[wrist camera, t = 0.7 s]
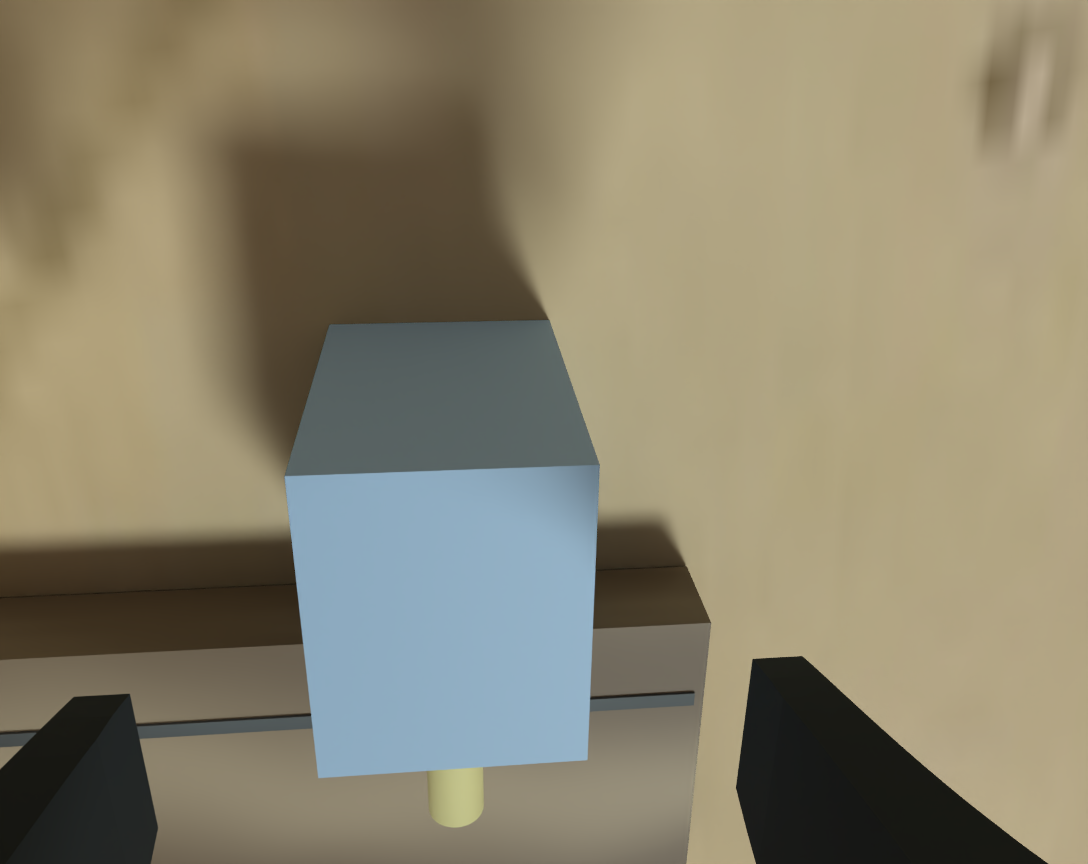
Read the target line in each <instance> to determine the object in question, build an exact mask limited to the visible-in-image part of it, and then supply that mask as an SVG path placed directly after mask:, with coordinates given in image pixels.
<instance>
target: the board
mask: <svg viewBox="0 0 1088 864" xmlns="http://www.w3.org/2000/svg"><path fill="white" fill-rule="evenodd" d="M710 628H711V622H710V619H709V617H708V615H707V612H706V610H705V608H704V605H703V603H702V601H701V598H700V596H699V594H698V592H697V589H696V587H695V585H694V582H693V580H692V578H691V575H690V573H689V571H688V568H687V566H685V567H664V568H642V569H621V570H599V571H595V590H594V614H593V638H592V662H591V686H590V711H589V735H588V759H587V760H582V761H567V762H552V763H537V764H522V765H507V766H492V767H483V789H484V808H483V811H482V813H481V815H480V816H479V818H478V819H477V820H475V821H474V822H473V823H471V824H469V825H466V826H463V827H455V828H453V827H446V826H443V825H441V824H439V823H437V822H436V821H435V820H434V819H433V818H432V817H431V815H430V812H429V801H428V781H427V771H418V772H403V773H388V774H373V775H358V776H343V777H328V778H318V771H317V762H316V753H315V744H314V735H313V726H312V717H311V708H310V700H309V691H308V682H307V673H306V664H305V655H304V646H303V637H302V628H301V619H300V610H299V601H298V592H297V584H296V585H275V586H253V587H231V588H210V589H188V590H166V591H145V592H123V593H102V594H80V595H58V596H37V597H15V598H0V769H1V768H2V767H3V766H4V765H5V764H6V763H7V762H8V761H9V760H10V759H11V758H12V757H13V756H14V755H15V754H16V753H17V752H18V751H19V750H20V749H21V748H22V747H23V746H24V745H25V744H26V743H27V742H28V741H29V740H30V739H31V738H32V737H33V736H34V735H35V734H36V733H37V732H38V731H39V730H40V729H41V728H42V727H43V726H44V725H45V724H46V723H47V722H48V721H49V720H50V719H51V718H52V717H53V716H54V715H55V714H56V713H57V712H58V711H59V710H60V709H62V708H63V707H64V706H65V705H66V704H67V703H68V702H69V701H70V700H71V699H72V698H73V697H78V696H96V695H114V694H130V697H131V701H132V706H133V711H134V715H135V720H136V725H137V730H138V734H139V739H140V744H141V749H142V753H143V758H144V763H145V767H146V772H147V777H148V782H149V786H150V791H151V796H152V801H153V805H154V810H155V815H156V820H157V824H158V831H157V836H156V841H155V846H154V851H153V855H152V860H151V864H686V861H687V851H688V841H689V832H690V822H691V812H692V803H693V793H694V783H695V774H696V764H697V754H698V745H699V735H700V725H701V715H702V706H703V696H704V686H705V677H706V667H707V657H708V648H709V638H710Z"/></svg>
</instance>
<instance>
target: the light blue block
mask: <svg viewBox="0 0 1088 864" xmlns="http://www.w3.org/2000/svg"><path fill="white" fill-rule="evenodd" d="M599 469H600V464H599V462H598V459H597V456H596V453H595V450H594V447H593V444H592V441H591V439H590V436H589V433H588V430H587V427H586V424H585V421H584V418H583V416H582V413H581V410H580V407H579V404H578V401H577V398H576V395H575V393H574V390H573V387H572V384H571V381H570V378H569V375H568V372H567V370H566V367H565V364H564V361H563V358H562V355H561V352H560V349H559V346H558V344H557V341H556V338H555V335H554V332H553V329H552V326H551V323H550V321H549V320H522V321H473V322H424V323H375V324H330V325H329V328H328V331H327V335H326V338H325V341H324V345H323V348H322V352H321V355H320V358H319V362H318V365H317V368H316V372H315V375H314V378H313V382H312V385H311V389H310V392H309V395H308V399H307V402H306V405H305V409H304V412H303V416H302V419H301V422H300V426H299V429H298V432H297V436H296V439H295V443H294V446H293V449H292V453H291V456H290V459H289V463H288V466H287V470H286V473H285V485H286V494H287V503H288V512H289V521H290V530H291V539H292V548H293V557H294V566H295V575H296V583H297V592H298V601H299V610H300V619H301V628H302V637H303V646H304V655H305V664H306V673H307V682H308V691H309V700H310V708H311V717H312V726H313V735H314V744H315V753H316V762H317V771H318V778H328V777H343V776H358V775H373V774H388V773H403V772H418V771H427V781H428V801H429V812H430V815H431V817H432V818H433V819H434V820H435V821H436V822H437V823H439V824H441V825H443V826H446V827H453V828H455V827H463V826H466V825H469V824H471V823H473V822H474V821H475V820H477V819H478V818H479V816H480V815H481V813H482V811H483V808H484V789H483V767H492V766H507V765H522V764H537V763H552V762H567V761H582V760H587V759H588V735H589V711H590V686H591V662H592V638H593V614H594V590H595V565H596V541H597V517H598V493H599Z"/></svg>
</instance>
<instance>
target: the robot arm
mask: <svg viewBox="0 0 1088 864" xmlns="http://www.w3.org/2000/svg"><path fill="white" fill-rule="evenodd" d="M736 789H737V793H738V797H739V801H740V805H741V809H742V813H743V817H744V821H745V825H746V829H747V833H748V836H749V840H750V843H751V847H752V851H753V854H754V858H755V861H756V864H1048V863H1046V862H1045V861H1044V860H1042V859H1041V858H1040V857H1038V856H1037V855H1035V854H1034V853H1033V852H1031V851H1030V850H1029V849H1027V848H1026V847H1024V846H1023V845H1022V844H1020V843H1019V842H1018V841H1016V840H1015V839H1014V838H1013V837H1011V836H1010V835H1009V834H1007V833H1006V832H1005V831H1004V830H1002V829H1001V828H1000V827H998V826H997V825H996V824H995V823H993V822H992V821H991V820H989V819H988V818H987V817H986V816H984V815H983V814H982V813H981V812H979V811H978V810H977V809H975V808H974V807H973V806H972V805H970V804H969V803H968V802H967V801H965V800H964V799H963V798H962V797H960V796H959V795H958V794H957V793H956V792H954V791H953V790H952V789H951V788H949V787H948V786H947V785H946V784H945V783H943V782H942V781H941V780H940V779H939V778H937V777H936V776H935V775H934V774H933V773H932V772H930V771H929V770H928V769H927V768H926V767H925V766H923V765H922V764H921V763H920V762H919V761H918V760H916V759H915V758H914V757H913V756H912V755H911V754H910V753H908V752H907V751H906V750H905V749H904V748H903V747H902V746H900V745H899V744H898V743H897V742H896V741H895V740H894V739H893V738H891V737H890V736H889V735H888V734H887V733H886V732H885V731H884V730H882V729H881V728H880V727H879V726H878V725H877V724H876V723H875V722H874V721H873V720H871V719H870V718H869V717H868V716H867V715H866V714H865V713H864V712H863V711H862V710H861V709H859V708H858V707H857V706H856V705H855V704H854V703H853V702H852V701H851V700H850V699H849V698H847V697H846V696H845V695H844V694H843V693H842V692H841V691H840V690H839V689H838V688H837V687H836V686H834V685H833V684H832V683H831V682H830V681H829V680H828V679H827V678H826V677H825V676H824V675H823V674H821V673H820V672H819V671H818V670H817V669H816V668H815V667H814V666H813V665H811V664H810V663H809V662H808V661H807V660H806V659H805V658H804V657H802V656H798V657H780V658H762V659H753V661H752V669H751V676H750V684H749V692H748V700H747V707H746V715H745V723H744V731H743V738H742V746H741V754H740V762H739V769H738V777H737V785H736ZM157 831H158V824H157V820H156V815H155V810H154V805H153V801H152V796H151V791H150V786H149V782H148V777H147V772H146V767H145V763H144V758H143V753H142V749H141V744H140V739H139V734H138V730H137V725H136V720H135V715H134V711H133V706H132V701H131V697H130V694H114V695H96V696H78V697H73V698H72V699H71V700H70V701H69V702H68V703H67V704H66V705H65V706H64V707H63V708H62V709H60V710H59V711H58V712H57V713H56V714H55V715H54V716H53V717H52V718H51V719H50V720H49V721H48V722H47V723H46V724H45V725H44V726H43V727H42V728H41V729H40V730H39V731H38V732H37V733H36V734H35V735H34V736H33V737H32V738H31V739H30V740H29V741H28V742H27V743H26V744H25V745H24V746H23V747H22V748H21V749H20V750H19V751H18V752H17V753H16V754H15V755H14V756H13V757H12V758H11V759H10V760H9V761H8V762H7V763H6V764H5V765H4V766H3V767H2V768H1V769H0V864H151V860H152V855H153V851H154V846H155V841H156V836H157Z"/></svg>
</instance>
